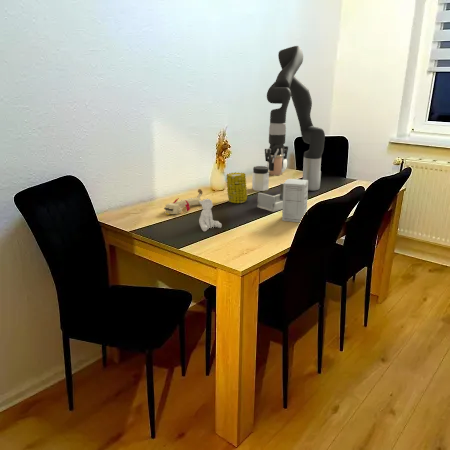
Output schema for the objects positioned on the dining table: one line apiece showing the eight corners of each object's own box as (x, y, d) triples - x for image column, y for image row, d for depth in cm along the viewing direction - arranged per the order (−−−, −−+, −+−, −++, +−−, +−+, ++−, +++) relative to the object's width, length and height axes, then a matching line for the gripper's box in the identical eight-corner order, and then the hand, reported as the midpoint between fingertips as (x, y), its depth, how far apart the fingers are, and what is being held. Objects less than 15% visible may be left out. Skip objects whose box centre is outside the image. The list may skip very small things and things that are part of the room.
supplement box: (307, 216, 201) (309, 179, 196) (303, 223, 193) (305, 184, 187) (285, 214, 204) (287, 178, 199) (281, 220, 196) (283, 182, 190)
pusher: (281, 199, 224) (282, 183, 221) (292, 202, 219) (293, 185, 216) (279, 199, 223) (280, 183, 220) (290, 202, 218) (291, 186, 216)
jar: (260, 192, 241) (261, 169, 237) (249, 189, 247) (249, 167, 243) (271, 189, 247) (272, 167, 243) (260, 186, 253) (260, 165, 249)
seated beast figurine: (203, 232, 182) (203, 203, 178) (192, 226, 189) (191, 198, 185) (222, 227, 188) (222, 199, 184) (210, 222, 194) (210, 195, 190)
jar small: (274, 172, 216) (275, 153, 213) (284, 174, 212) (285, 154, 209) (266, 173, 212) (267, 154, 209) (275, 175, 208) (276, 156, 205)
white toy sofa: (280, 200, 226) (281, 186, 224) (296, 204, 219) (297, 190, 217) (257, 207, 215) (257, 192, 213) (273, 211, 208) (273, 197, 206)
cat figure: (193, 204, 224) (157, 212, 204) (194, 187, 222) (158, 193, 202) (209, 208, 218) (174, 216, 199) (210, 190, 216) (174, 197, 197)
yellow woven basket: (239, 208, 219) (224, 205, 226) (254, 198, 226) (239, 195, 233) (233, 179, 212) (218, 176, 219) (249, 169, 219) (234, 167, 226)
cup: (266, 175, 280) (266, 159, 277) (267, 170, 291) (268, 155, 288) (286, 175, 278) (286, 160, 275) (286, 171, 290) (287, 156, 286)
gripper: (281, 130, 213) (279, 166, 218) (260, 133, 204) (259, 170, 209) (293, 132, 208) (291, 168, 213) (272, 135, 198) (271, 173, 204)
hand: (275, 169), depth 211 cm, fingers closed on jar small, 5 cm apart
